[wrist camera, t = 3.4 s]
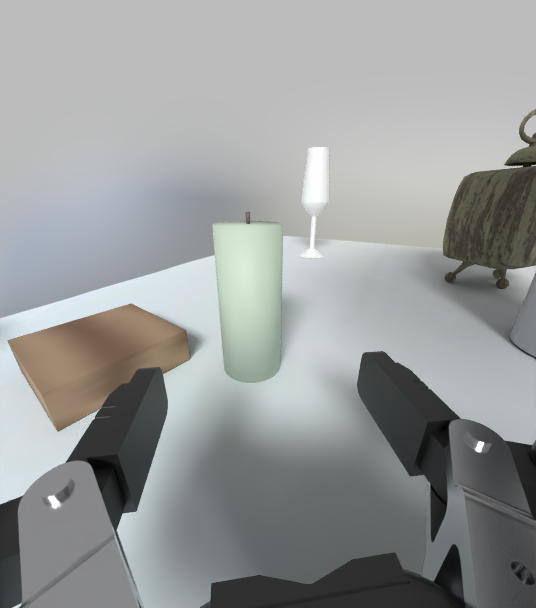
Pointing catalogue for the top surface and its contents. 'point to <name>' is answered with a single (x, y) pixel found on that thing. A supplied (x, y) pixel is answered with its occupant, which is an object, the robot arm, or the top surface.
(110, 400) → the robot arm
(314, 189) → the champagne flute
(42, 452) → the top surface
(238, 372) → the candle
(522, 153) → the tabletop clock
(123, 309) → the walnut block
